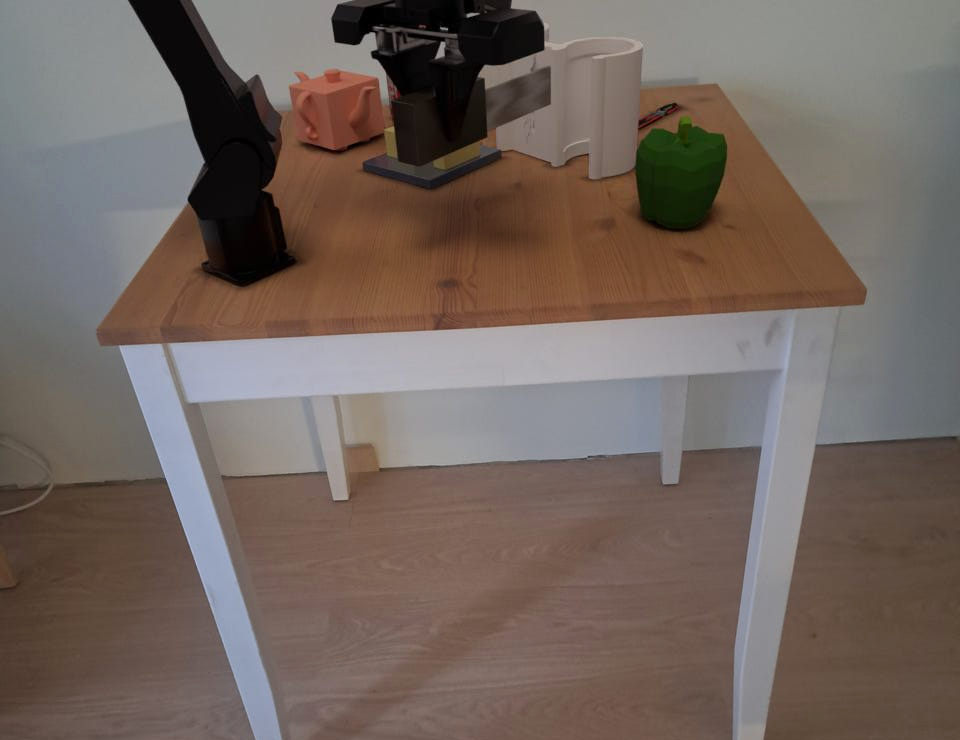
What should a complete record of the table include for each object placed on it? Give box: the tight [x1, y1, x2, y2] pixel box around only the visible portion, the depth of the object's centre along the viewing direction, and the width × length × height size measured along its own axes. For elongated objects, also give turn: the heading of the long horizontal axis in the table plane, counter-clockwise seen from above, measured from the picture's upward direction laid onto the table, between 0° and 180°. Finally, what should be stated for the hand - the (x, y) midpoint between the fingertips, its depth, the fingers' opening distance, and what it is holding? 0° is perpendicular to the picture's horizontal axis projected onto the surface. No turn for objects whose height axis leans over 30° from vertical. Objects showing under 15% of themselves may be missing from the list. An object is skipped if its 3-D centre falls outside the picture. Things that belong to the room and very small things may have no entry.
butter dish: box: [362, 144, 502, 190], centre depth 97 cm, size 12×11×1 cm
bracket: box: [478, 21, 644, 181], centre depth 96 cm, size 25×10×12 cm, turn 39°
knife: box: [391, 66, 551, 167], centre depth 75 cm, size 20×3×5 cm, turn 140°
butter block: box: [383, 125, 398, 159], centre depth 97 cm, size 6×4×3 cm
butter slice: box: [433, 140, 481, 170], centre depth 94 cm, size 6×2×3 cm, turn 139°
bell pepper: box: [634, 115, 728, 230], centre depth 78 cm, size 8×8×10 cm
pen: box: [638, 102, 680, 129], centre depth 106 cm, size 2×14×1 cm, turn 142°
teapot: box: [288, 68, 386, 151], centre depth 104 cm, size 12×15×8 cm
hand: (442, 138), depth 73 cm, fingers closed on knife, 2 cm apart
